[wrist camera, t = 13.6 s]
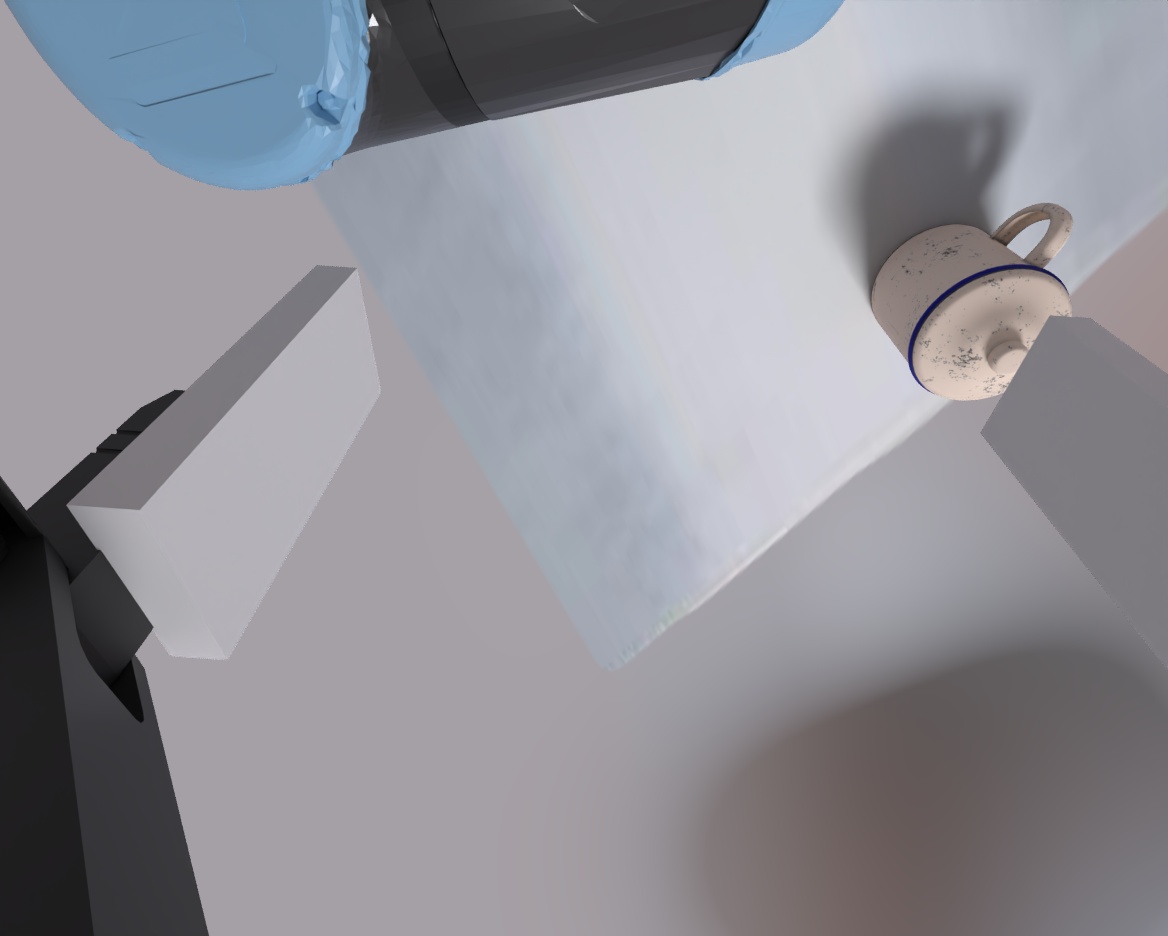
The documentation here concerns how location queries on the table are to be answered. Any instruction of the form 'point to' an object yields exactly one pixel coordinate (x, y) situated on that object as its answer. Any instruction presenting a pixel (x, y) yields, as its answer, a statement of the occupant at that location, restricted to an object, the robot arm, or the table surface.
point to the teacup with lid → (971, 302)
